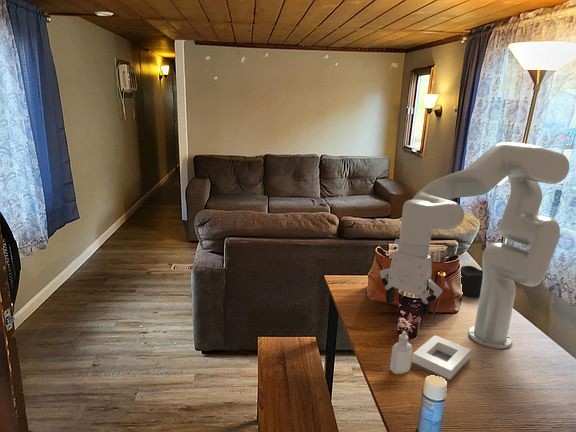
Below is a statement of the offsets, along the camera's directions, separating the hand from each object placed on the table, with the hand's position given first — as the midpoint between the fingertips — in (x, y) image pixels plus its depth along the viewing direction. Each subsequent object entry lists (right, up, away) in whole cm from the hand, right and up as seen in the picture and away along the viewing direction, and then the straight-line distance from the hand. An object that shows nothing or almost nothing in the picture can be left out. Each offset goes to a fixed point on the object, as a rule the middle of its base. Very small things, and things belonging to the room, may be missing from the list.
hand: (406, 308), depth 111 cm
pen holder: (+41, -6, +54) cm, 68 cm away
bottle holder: (+13, -17, +9) cm, 23 cm away
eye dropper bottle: (0, -18, +5) cm, 19 cm away
